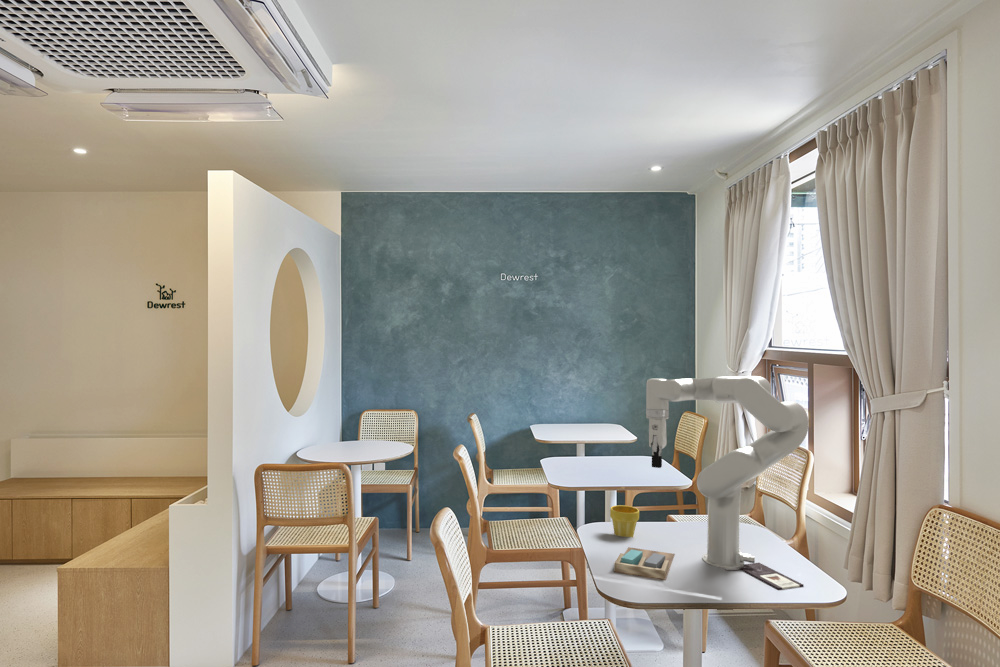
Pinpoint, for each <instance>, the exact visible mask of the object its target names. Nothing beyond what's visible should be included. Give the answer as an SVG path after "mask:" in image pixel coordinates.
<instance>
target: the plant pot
mask: <svg viewBox="0 0 1000 667" xmlns="http://www.w3.org/2000/svg"><path fill="white" fill-rule="evenodd" d="M609 513H610V514H609V517H610V519H611V521H612V525H613V526H612V527H613V532H614V536H618V537H622V538H623V537H624V538H632V539H633V538H634V535H635V531H636V526H637V523H638V521H639V520H640V510H639V509H638V508H637V507H634V506H630V505H624V504H623V505H621V504H619V505H613V506H611V507H610V510H609Z"/></svg>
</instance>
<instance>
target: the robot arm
mask: <svg viewBox="0 0 1000 667" xmlns="http://www.w3.org/2000/svg"><path fill="white" fill-rule="evenodd" d="M645 397H646V399H645V400H646V402H645V403H646V404H645V405H646V406H645V407H646V409H645V414H646V416H645V418H646V419H647V420H648V444H649V445H648V447H650V448H651V468H657V469H658V468H659V469H661V468H662V467H663V465H662V464H663V454H662V453H663V452H662V450H663V449H664V448H665V447H667V442H668V441H667V440H668V439H667V420H669V414H670V412H669V410H670V409H669V408H670V407H669V404H670V402H673V403H674V402H675V403H676V402H684V401H712V402H715V403H719V404H739V405H741V407H743V408H744V409H745V410H746V411H747V412H748V413H750V415H751V416H752V417H753V418H755V419H756V420H757V421H758V422H760V424H762V425H763V426H764V427H766V428H767V429H768V430H769V431H768V432H766V433H764V434H763V435H762V436H761V437H759V438H758V439H756V440H754V441H753V442H752V443H750V444H748V445H746V446H743V447H740V448H736V449H734V450H731V451H729V452H728V453H726V454H724V455H723V456H721V457H720V458H719V459H717V460H716V461H713V463H711V464H710V465H709V464H708V466H706V467H705V468H702V470H701V471H700V472H699V473H698V476H697V478H696V486H697V489H698V492H699V493H700V494H701V495H702V496H704V497H706V498H708V500H707V531H706V532H707V535H706V536H707V540H706V541H707V544H706V545H707V546H706V548H707V552H706V553H705V554H703V555H702V557H701V559H702V561H703V562H704V563H706V564H707V565H709V566H713V567H717V568H722V569H724V570H726V571H737V570H740V569H741V568H742V567H744V564H745V562H747V563H749V564H752V563H756V562H755V561H756V560H755V556H752V555H751V554H750V553H743V552H742V551H741V548H740V513H741V512H740V508H741V505H740V504H741V495H742V488H743V487H742V486H743V485H744V484H745V483H747V482H748V481H750V480H753V479H755V478H757V477H759V476H760V475H761V474H763V473H764V472H765V471H766V470H768V469H770V468H771V467H772V466H774V465H775V464H777V463H779V462H780V461H781V460H784V459H785V458H786V457H788V456H790V455H791V454H792V453H793V452H794V451H796V450H797V449H798V448H799V447H800V446H801V444H803V443H804V440H805V438H806V437H807V434H808V431H809V425H810V424H809V417H808V413H807V411H806V409H805V408H804V407H803V406H802V405H801V404H800V403H797V402H795V401H792V400H791V401H789V400H788V401H787V400H785V401H780V400H779V399H777V397H775V396H774V395H773V394H772V385H771V383H770V382H769V380H767V378H765V377H763V376H758V375H745V376H743V375H741V376H740V375H739V376H738V375H737V376H715V377H706V378H705V377H697V378H692V377H691V378H689V377H688V378H675V379H672V378H671V379H666V378H661V377H659V378H658V377H657V378H656V377H655V378H649V379H647V381H646V396H645Z"/></svg>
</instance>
